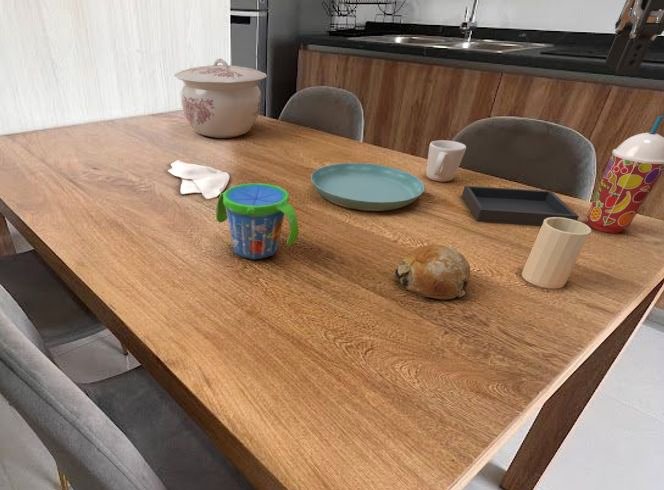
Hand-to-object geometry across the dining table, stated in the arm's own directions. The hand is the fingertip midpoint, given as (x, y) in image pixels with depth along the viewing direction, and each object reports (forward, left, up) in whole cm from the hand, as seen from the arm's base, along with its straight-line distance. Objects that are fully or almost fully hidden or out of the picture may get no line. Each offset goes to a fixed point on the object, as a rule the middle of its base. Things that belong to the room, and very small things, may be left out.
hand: (618, 70), depth 61 cm
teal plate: (+28, -24, -28) cm, 46 cm away
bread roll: (+20, +13, -28) cm, 37 cm away
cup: (+10, -37, -28) cm, 48 cm away
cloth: (+66, -27, -28) cm, 77 cm away
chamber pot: (+70, -71, -28) cm, 104 cm away
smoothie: (-17, -15, -28) cm, 36 cm away
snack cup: (+48, +7, -28) cm, 56 cm away
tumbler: (+2, +8, -28) cm, 29 cm away
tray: (-2, -20, -28) cm, 34 cm away
